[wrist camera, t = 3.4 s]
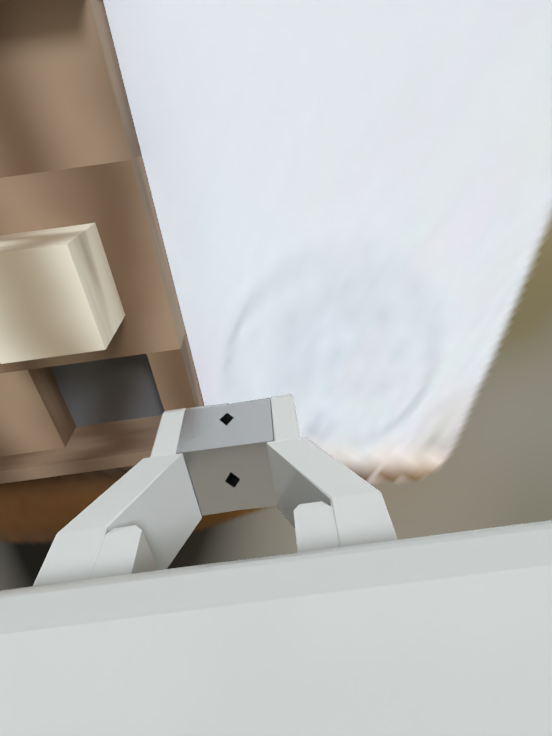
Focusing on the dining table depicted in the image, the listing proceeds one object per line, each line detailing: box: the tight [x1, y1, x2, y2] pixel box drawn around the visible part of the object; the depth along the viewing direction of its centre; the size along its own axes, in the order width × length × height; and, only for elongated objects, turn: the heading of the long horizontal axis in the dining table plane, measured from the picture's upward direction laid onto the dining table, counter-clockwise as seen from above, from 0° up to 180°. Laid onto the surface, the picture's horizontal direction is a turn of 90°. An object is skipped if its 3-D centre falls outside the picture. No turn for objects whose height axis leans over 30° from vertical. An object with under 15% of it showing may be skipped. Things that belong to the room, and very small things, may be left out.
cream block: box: [0, 223, 125, 364], centre depth 21 cm, size 5×5×4 cm
